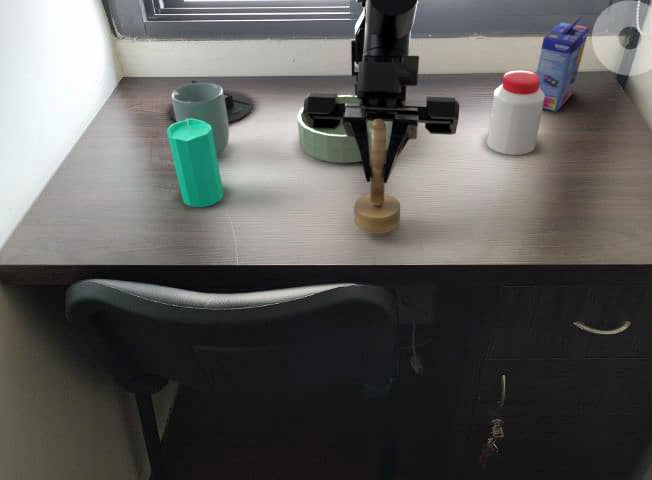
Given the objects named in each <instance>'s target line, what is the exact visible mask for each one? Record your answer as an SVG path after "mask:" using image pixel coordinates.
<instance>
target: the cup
mask: <svg viewBox="0 0 652 480" xmlns="http://www.w3.org/2000/svg"><path fill="white" fill-rule="evenodd" d="M223 91H224V89H223V88H222V87H221V86H220V85H219V84H217V83H213V82H212V83H211V82H198V83H192V82H191V83H187V84H183V85H181V86H179V87H177V88H175V90H173V91H172V94H171V104H172V105H173V109H174V113H175V118H176V122H175V123H177V122H180V121H183V120H187V119H191V118H192V119H197V120H201V121H204V122H206V123H207V124H209V125H210V126H211V128H212V133H213V139H214V144H215V150H216V155H217V157H218V156H220V155H221V154H222V153H223V152H224V151H225V150H226V149H227V147H228V144H229V139H230V128H229V127H230V126H229V125H230V124H228V116H227V109H226V103H225V97H224V93H223ZM186 118H187V119H186Z"/></svg>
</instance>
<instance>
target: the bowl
mask: <svg viewBox="0 0 652 480" xmlns="http://www.w3.org/2000/svg"><path fill="white" fill-rule="evenodd" d="M338 99H339V102H340V103H342V104H345V103H351V104H359V102H360V99H357V96H355V95H353V94H352V95H351V94H350V95H349V94H345V95H344V94H342V95H338ZM303 109H304V106H303V107H301V108H300V109H299V111H298V113H297V114H296V115H297V127H298V128H297V129H298V140H299V141H298V142H299V147H300V148H301V149H302V150H303V152H304V153H305V154H307V155H309V156H311V157H312V158H314V159H317V160H321V161H325V162H329V163H339V164H341V163H342V164H346V163H359V162H362V159H361V155H360V151H359V148H358V145H357V143H356V140H355V138H354V137H349V136H347V135H346V132H345V129H344V126H343V120H341V125H339V126H338V127H337V128H336V129H335V130H325V129H313V128H310V126H309V124H308V122H307V120H306V118H305V116H304V114H303ZM372 122H373V121H368V124H367V125H368V129H369V134H370V157H371V123H372ZM384 122H385V124H386V146H385V152H387V151H388V147H389V142H390V136H391V129H392V122H387V121H384Z"/></svg>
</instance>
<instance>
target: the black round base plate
mask: <svg viewBox="0 0 652 480" xmlns="http://www.w3.org/2000/svg"><path fill="white" fill-rule="evenodd" d="M191 83H199V82H198V81H196V80H191ZM223 93H224V97H225V103H226V109H227V116H228V125H230V124H233V123H236V122H238V121H241V120H243V119H244V118H246V117H247V116H248V115H250V113H251V112H252V111H253V107H254V105H253V101H252V100H251V99H250V97H248V96H246V95H245V94H242V93H239V92H236V91H235V92H234V91H229V90H223ZM169 116H170V118H171V120H172V121H174V123H177V122H176V118H175V113H174V109H173V104H172V105H171V107H170V108H169Z"/></svg>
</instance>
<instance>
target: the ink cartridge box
mask: <svg viewBox="0 0 652 480" xmlns="http://www.w3.org/2000/svg"><path fill="white" fill-rule="evenodd" d="M582 17H583V15H580V16H578V18H577V19H576V20H575V21H574V22H573V23H569V22H563V21H561V22H559V23H558V24H557V25H556V26H555V27H554V28H553V29H551V31H549V32H548V33H547V34H546V35H545V36H544V37H543V39H542V44H541V48H540V51H539V58H538V61H537V66H536V71H535V74H537V75H539V76H540V78H541V80H540V85H539V87H540V89H541V90H542V91H543V92H544V94H545V99H544V104H543V109H544V110H548V111H549V112H550V111H551V112H554V113H556V112H558V110H559V109H560V108H561V107H562V106H563V105H564V104H565V103H566V101H568V99H569V98H570V97H571V96H572V94H573V91H574V87H575V83H576V79H577V76H578V72H579V69H580V65H581V61H582V57H583V53H584V49H585V46H586V42H587V37H588V34H589V31H590V27H589V26H585V25H580V24H578V23H579V22H580V20H581V19H582ZM543 109H542V110H543Z"/></svg>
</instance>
